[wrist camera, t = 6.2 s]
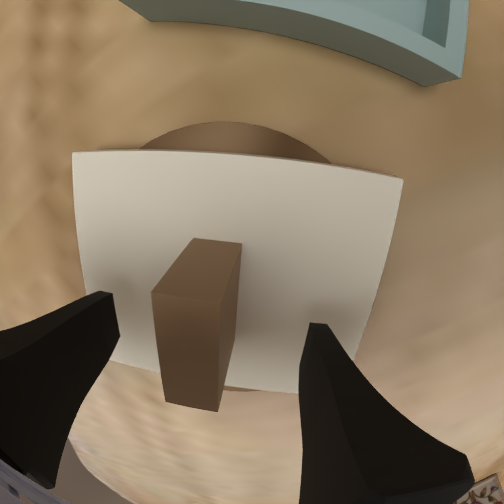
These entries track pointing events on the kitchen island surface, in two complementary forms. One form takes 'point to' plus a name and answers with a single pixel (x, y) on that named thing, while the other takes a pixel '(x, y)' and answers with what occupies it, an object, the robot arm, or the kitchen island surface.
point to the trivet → (235, 148)
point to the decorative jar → (484, 492)
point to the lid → (229, 260)
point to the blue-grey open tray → (345, 28)
